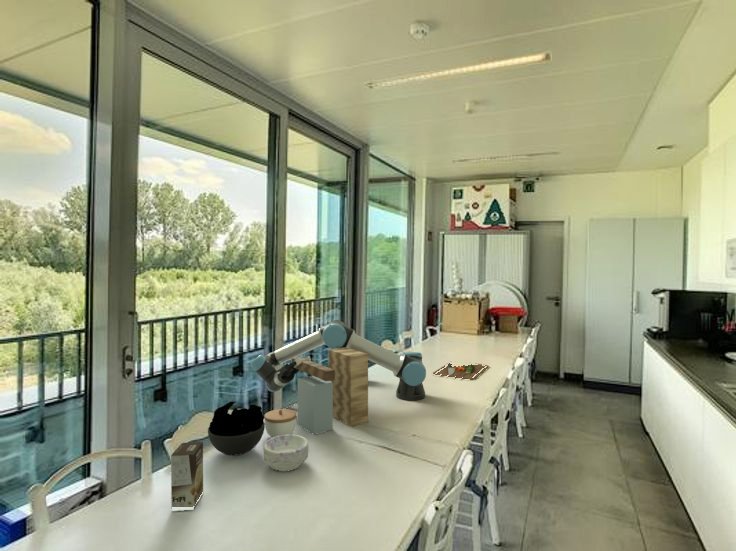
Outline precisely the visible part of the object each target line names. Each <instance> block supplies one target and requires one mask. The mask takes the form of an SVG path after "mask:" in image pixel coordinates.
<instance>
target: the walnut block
mask: <svg viewBox="0 0 736 551" xmlns="http://www.w3.org/2000/svg"><path fill="white" fill-rule="evenodd" d="M298 357H300V358H301V364H300V365H298V366H297V367H296V369H298V370H301V371H303V372H302V373H306V374H307V375H309V376H315V377H317V378H319V379H322V380H324V381H331V380H335V370H334V369H331V368H329V366H325V365H324V364H320V363H317V362H315V361H312V360H311V361H309V360H307V359H305V358H304V357H301V356H297V357H295V358H292V359H291V363H292V362H294V361H295V360H296V359H297V358H298ZM293 368H294V367H293Z"/></svg>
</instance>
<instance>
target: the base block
mask: <svg viewBox="0 0 736 551" xmlns="http://www.w3.org/2000/svg"><path fill="white" fill-rule="evenodd" d="M296 380H297V425H298V426H299V425H300V426H299V427H301V426H302V427H301V428H303V429H304V428H305V429H304V430H306V431H307V430H308V431H307V432H309V431H310V432H309V433H310V434H312V433H313V434H312V435H314V434H315V435H317V433H318V434H322V433H325V432H324V431H326V432H328V430H329V431H332V429H333V430H334V428H333V426H334V425H333V424H334V423H333V422H334V417H333V382H331V381H324V380H322V379H319V378H317V377H315V376H312V375H309V376H304V377H299V378H297V379H296ZM321 432H322V433H321Z"/></svg>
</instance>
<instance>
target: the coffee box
mask: <svg viewBox="0 0 736 551" xmlns="http://www.w3.org/2000/svg"><path fill="white" fill-rule="evenodd" d="M170 458H171V459H170V463H171V464H170V465H171V468H170V471H171V472H170V474H171V475H170V476H171V477H170V481H171V482H170V485H171V489H170V490H171V492H170V493H171V495H170V496H171V498H170V499H171V501H170V502H171V508H172V507H193V506H195V504H196V502H197V500H198V499H199V497H200V495H201V494H202V492H203V493H204V441H191V442H189V441H188V442H182V443H181V444H180V445H178V447H177V448H176V449H175V450H174V451H173V452H172V454H171V455H170Z"/></svg>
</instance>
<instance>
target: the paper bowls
mask: <svg viewBox="0 0 736 551" xmlns="http://www.w3.org/2000/svg"><path fill="white" fill-rule="evenodd" d="M262 447H263V454H262V455H263V458H262V459H263V462H264V463H266V465H268V466H270V467H271V469H273V470H274V469H275V470H274V471H277V470H279V471H278V472H289V471H288V470H291V471H293V469H294V470H296V469H297V468H299V467H300V466H301V465H302V463H303V462H305V461H307V459H308V458H309V441H308V439H307V438H306V437H304V436H303V435H298V434H288V435H280V436H276V437H273V438H272V437H270V438H269V439H267V440H266V441H265V442H264V443H263V446H262Z"/></svg>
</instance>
